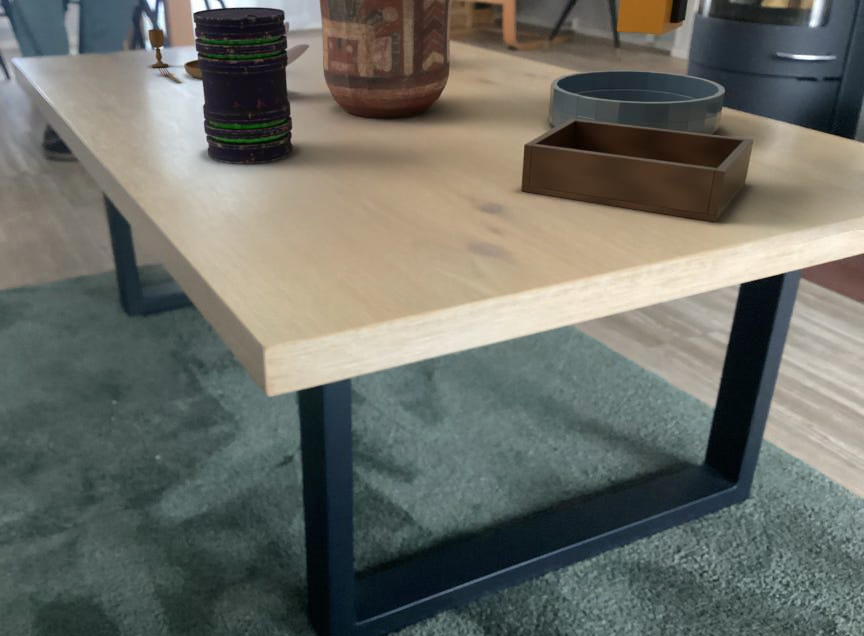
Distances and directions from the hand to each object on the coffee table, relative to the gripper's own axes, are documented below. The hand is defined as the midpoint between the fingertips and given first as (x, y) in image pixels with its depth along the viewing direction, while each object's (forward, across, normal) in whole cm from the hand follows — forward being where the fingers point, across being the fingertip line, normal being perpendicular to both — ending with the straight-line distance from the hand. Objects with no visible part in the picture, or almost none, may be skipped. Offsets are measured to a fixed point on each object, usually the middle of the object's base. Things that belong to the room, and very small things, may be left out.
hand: (651, 19), depth 86 cm
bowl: (+15, -6, +16) cm, 23 cm away
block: (+1, 0, 0) cm, 1 cm away
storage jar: (+15, -39, -17) cm, 45 cm away
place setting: (+15, -79, +20) cm, 83 cm away
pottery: (+15, -38, +10) cm, 42 cm away
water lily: (+15, -57, +8) cm, 60 cm away
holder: (+15, +3, -8) cm, 17 cm away
